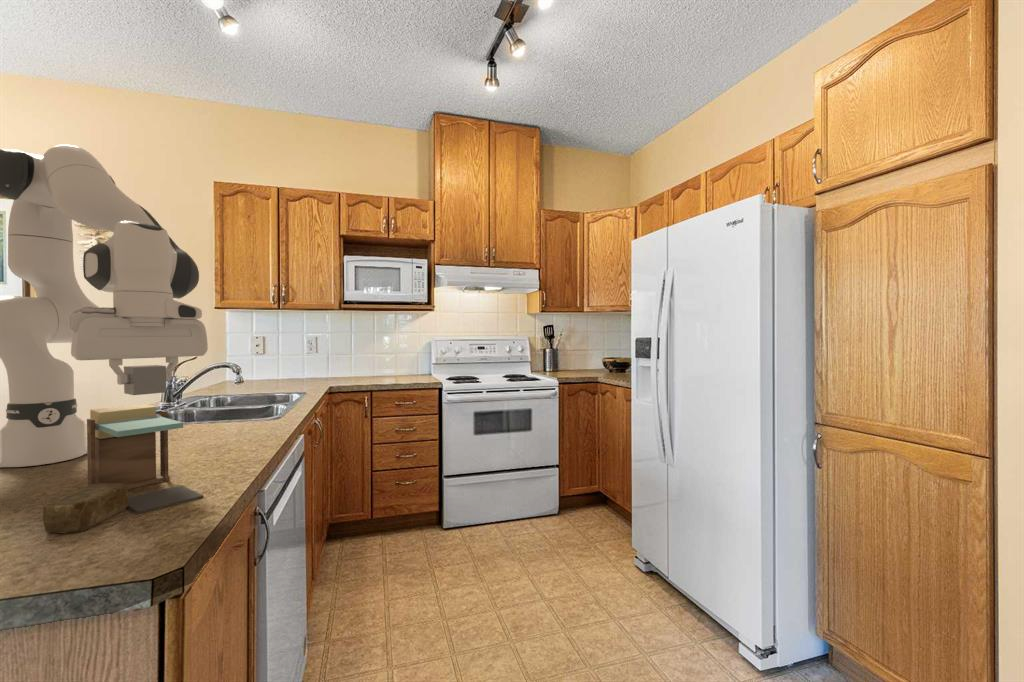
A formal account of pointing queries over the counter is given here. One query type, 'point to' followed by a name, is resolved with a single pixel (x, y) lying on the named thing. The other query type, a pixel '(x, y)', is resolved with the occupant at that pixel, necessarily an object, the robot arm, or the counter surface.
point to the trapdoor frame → (126, 458)
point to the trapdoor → (130, 421)
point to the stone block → (85, 507)
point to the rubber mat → (161, 499)
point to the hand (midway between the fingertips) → (145, 382)
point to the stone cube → (145, 379)
